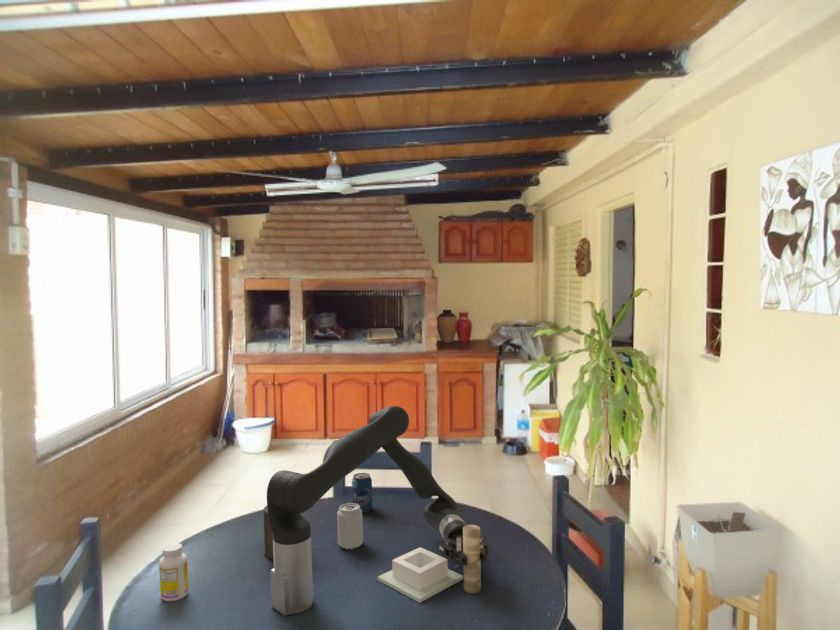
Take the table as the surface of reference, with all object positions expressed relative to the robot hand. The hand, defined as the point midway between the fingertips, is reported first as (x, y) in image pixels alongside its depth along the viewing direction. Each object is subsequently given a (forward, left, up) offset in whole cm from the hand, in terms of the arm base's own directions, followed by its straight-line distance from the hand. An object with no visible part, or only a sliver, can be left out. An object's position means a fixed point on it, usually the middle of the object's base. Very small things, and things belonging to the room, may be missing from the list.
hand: (475, 560), depth 152 cm
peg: (+1, +2, -9) cm, 9 cm away
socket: (-5, +15, -9) cm, 18 cm away
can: (-5, +45, -9) cm, 46 cm away
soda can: (+15, +64, -9) cm, 67 cm away
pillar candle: (-22, +56, -9) cm, 61 cm away
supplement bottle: (-54, +55, -9) cm, 78 cm away
